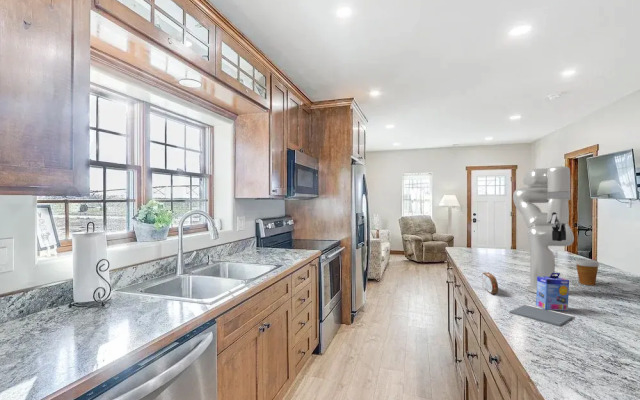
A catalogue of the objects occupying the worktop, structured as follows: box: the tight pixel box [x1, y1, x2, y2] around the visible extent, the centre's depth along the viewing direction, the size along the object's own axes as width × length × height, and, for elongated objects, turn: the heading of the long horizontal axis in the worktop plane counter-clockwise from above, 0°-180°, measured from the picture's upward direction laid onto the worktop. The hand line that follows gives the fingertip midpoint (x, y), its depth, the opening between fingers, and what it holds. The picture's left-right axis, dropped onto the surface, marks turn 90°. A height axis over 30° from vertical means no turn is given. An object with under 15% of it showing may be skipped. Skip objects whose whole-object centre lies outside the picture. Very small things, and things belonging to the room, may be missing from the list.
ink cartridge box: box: [535, 272, 570, 311], centre depth 124 cm, size 10×6×14 cm, turn 95°
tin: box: [481, 271, 499, 295], centre depth 149 cm, size 15×3×8 cm, turn 168°
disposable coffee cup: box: [574, 259, 600, 286], centre depth 161 cm, size 10×10×12 cm
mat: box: [509, 304, 574, 327], centre depth 117 cm, size 14×16×1 cm
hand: (559, 239), depth 128 cm, fingers open, 3 cm apart
